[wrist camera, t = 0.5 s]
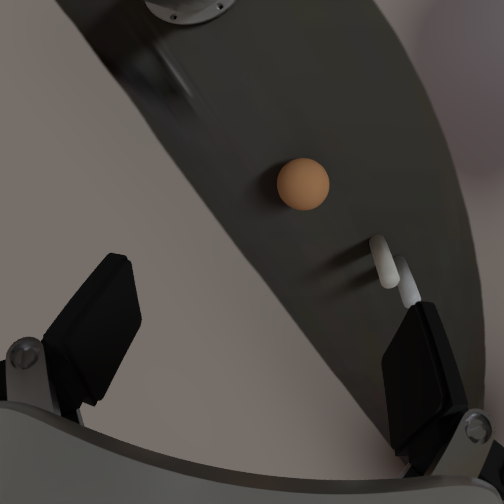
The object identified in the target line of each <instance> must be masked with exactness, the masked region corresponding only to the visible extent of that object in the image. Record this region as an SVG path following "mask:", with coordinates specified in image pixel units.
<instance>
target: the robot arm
mask: <svg viewBox="0 0 504 504" xmlns="http://www.w3.org/2000/svg"><path fill="white" fill-rule="evenodd" d="M143 1H145V4H146V6H147V7H148V8H149V10H150V11H151V12H152V13H153V14H154V15H155V16H157V17H158V18H160V19H162V20H164V21H167V22H170V23H174V24H179V25H194V24H200V23H204V22H207V21H210V20H212V19H214V18H217V17H219V16H220V15H222V14H223V13H225V12H226V11H228V10H229V9H230V8H231V7H232V6H233V5H234V4H235V3H236V2H237V1H238V0H143ZM220 6H223V8H222V9H220ZM176 16H177V18H176V19H174V18H175V17H176ZM141 320H142V317H141V312H140V307H139V302H138V298H137V292H136V286H135V281H134V275H133V270H132V264H131V262H130V261H129V260H128V259H127V257H126V256H125V255H120V254H115V253H109V254H108V255H107V256H106V257H105V258H104V259H103V260H102V262H101V263H100V264H99V265H98V266H97V268H96V269H95V270H94V271H93V272H92V273H91V275H90V276H89V277H88V278H87V280H86V281H85V282H84V283H83V284H82V286H81V287H80V288H79V290H78V291H77V292H76V293H75V294H74V296H73V297H72V298H71V299H70V301H69V302H68V303H67V305H66V306H65V307H64V309H63V310H62V311H61V312H60V314H59V315H58V316H57V318H56V319H55V320H54V322H53V323H52V324H51V326H50V327H49V329H48V330H47V331H46V333H45V334H44V335H43V339H42V340H41V342H40V341H39V340H38V339H36V338H34V337H23V338H21V339H18V340H17V341H16V342H14V343H13V344H12V345H11V346H10V348H9V349H8V351H7V354H6V360H3V361H0V504H504V447H503V446H502V445H500V444H499V443H498V442H497V441H495V440H494V436H495V426H494V423H493V421H492V419H491V417H490V416H489V415H488V414H487V413H486V412H485V411H483V410H481V409H471V410H469V411H468V407H467V405H468V402H467V398H466V394H465V391H464V387H463V384H462V381H461V377H460V374H459V371H458V368H457V364H456V361H455V358H454V355H453V352H452V349H451V347H450V344H449V341H448V338H447V335H446V333H445V330H444V327H443V325H442V322H441V319H440V317H439V314H438V312H437V309H436V307H435V305H434V303H431V302H423V301H417V302H416V303H415V305H411V306H410V308H409V310H408V312H407V314H406V316H405V317H404V319H403V321H402V323H401V325H400V327H399V329H398V330H397V332H396V334H395V336H394V338H393V339H392V341H391V343H390V345H389V346H388V348H387V350H386V352H385V353H384V355H383V357H382V363H381V364H382V372H383V379H384V386H385V394H386V402H387V410H388V420H389V430H390V441H391V447H392V448H393V449H395V456H409V463H408V465H407V466H406V468H405V469H404V470H403V472H402V473H401V475H400V476H399V477H398V478H397V479H381V480H380V479H379V480H315V479H299V478H286V477H277V476H268V475H260V474H252V473H246V472H240V471H234V470H228V469H223V468H218V467H213V466H208V465H204V464H199V463H195V462H191V461H187V460H183V459H178V458H175V457H171V456H167V455H164V454H161V453H157V452H154V451H150V450H147V449H144V448H141V447H138V446H135V445H132V444H129V443H126V442H123V441H120V440H118V439H115V438H113V437H110V436H107V435H105V434H102V433H99V432H97V431H94V430H92V429H89V428H87V427H84V423H83V420H82V416H81V413H80V409H79V408H80V406H81V404H82V402H84V403H87V404H89V405H92V406H95V405H96V403H97V401H98V400H99V401H100V400H102V399H103V397H104V396H105V393H106V392H107V389H108V387H109V386H110V384H111V381H112V379H113V378H114V375H115V374H116V372H117V370H118V368H119V366H120V364H121V362H122V360H123V358H124V356H125V354H126V352H127V350H128V348H129V346H130V345H131V343H132V341H133V339H134V337H135V335H136V333H137V331H138V330H139V328H140V325H141Z"/></svg>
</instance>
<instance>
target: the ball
mask: <svg viewBox="0 0 504 504" xmlns="http://www.w3.org/2000/svg"><path fill="white" fill-rule="evenodd" d="M277 189H278V193H279V195H280V197H281V199H282V200H283V201H284V202H285V203H286V204H287V205H288V206H290V207H292V208H294V209H297V210H310V209H313V208H315V207H317V206H319V205H320V204H321V203H322V202H323V201H324V200H325V198H326V196H327V194H328V191H329V178H328V175H327V173H326V171H325V170H324V168H323V167H322V166H321V165H320V164H319V163H317V162H316V161H314V160H311V159H307V158H298V159H294V160H292V161H290V162H288V163H287V164H286V165H285V166H284V167H283V168H282V169H281V171H280V173H279V175H278V178H277Z"/></svg>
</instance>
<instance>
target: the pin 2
mask: <svg viewBox="0 0 504 504" xmlns="http://www.w3.org/2000/svg"><path fill="white" fill-rule="evenodd" d="M393 261H394V263H395V266H396V268H397V271H398V274H399V277H400V281H399V283H398V284H397V286H398V289H399V292H400V295H401V298H402V301H403V304H404V306H405V307H406V308H410V306H411V305H415V303H416V302H417V301H421V297H420V294H419V292H418V289H417V287H416V284H415V282H414V279H413V277H412V274H411V272H410V270H409V267H408V265H407V262H406V260H405V258H404V257H403V256H400V255H398V256H395V257H393Z"/></svg>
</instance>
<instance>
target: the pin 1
mask: <svg viewBox="0 0 504 504" xmlns="http://www.w3.org/2000/svg"><path fill="white" fill-rule="evenodd" d="M369 246H370V249H371V252H372V255H373V259H374V262H375V265H376V269H377V272H378V275H379V279H380V282H381V285H382V286H383V287H384V288H393V287H395V286H396V285H397V284H398V283H399V281H400V277H399V274H398V271H397V268H396V266H395V263H394V261H393V258H392V255H391V253H390V250H389V248H388V245H387V243H386V240H385V238H384V237H383V236H382V235H374V236H372V237H371V238H370V240H369Z"/></svg>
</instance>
